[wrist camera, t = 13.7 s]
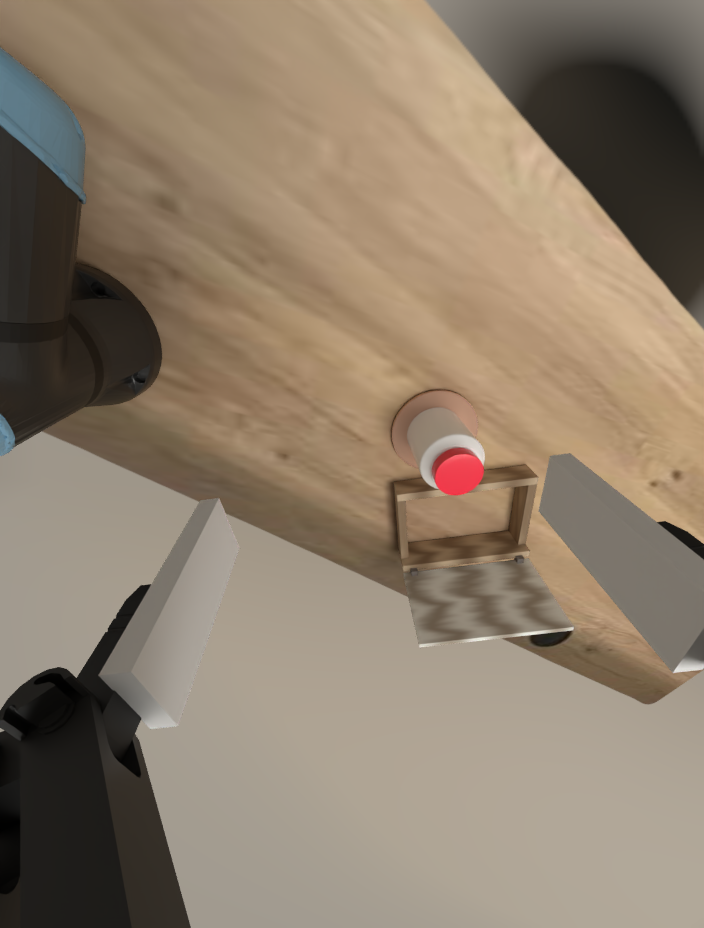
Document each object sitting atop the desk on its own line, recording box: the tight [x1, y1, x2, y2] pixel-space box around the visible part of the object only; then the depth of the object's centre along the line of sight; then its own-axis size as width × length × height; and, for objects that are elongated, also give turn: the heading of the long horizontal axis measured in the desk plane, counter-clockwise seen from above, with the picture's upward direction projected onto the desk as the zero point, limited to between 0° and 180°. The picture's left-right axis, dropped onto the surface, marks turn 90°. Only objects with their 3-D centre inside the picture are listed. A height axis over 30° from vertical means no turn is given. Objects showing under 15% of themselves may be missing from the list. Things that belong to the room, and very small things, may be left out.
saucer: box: [392, 390, 478, 469], centre depth 47 cm, size 12×12×1 cm
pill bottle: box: [407, 407, 485, 495], centre depth 42 cm, size 8×8×11 cm
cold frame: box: [394, 465, 574, 647], centre depth 48 cm, size 20×16×17 cm
